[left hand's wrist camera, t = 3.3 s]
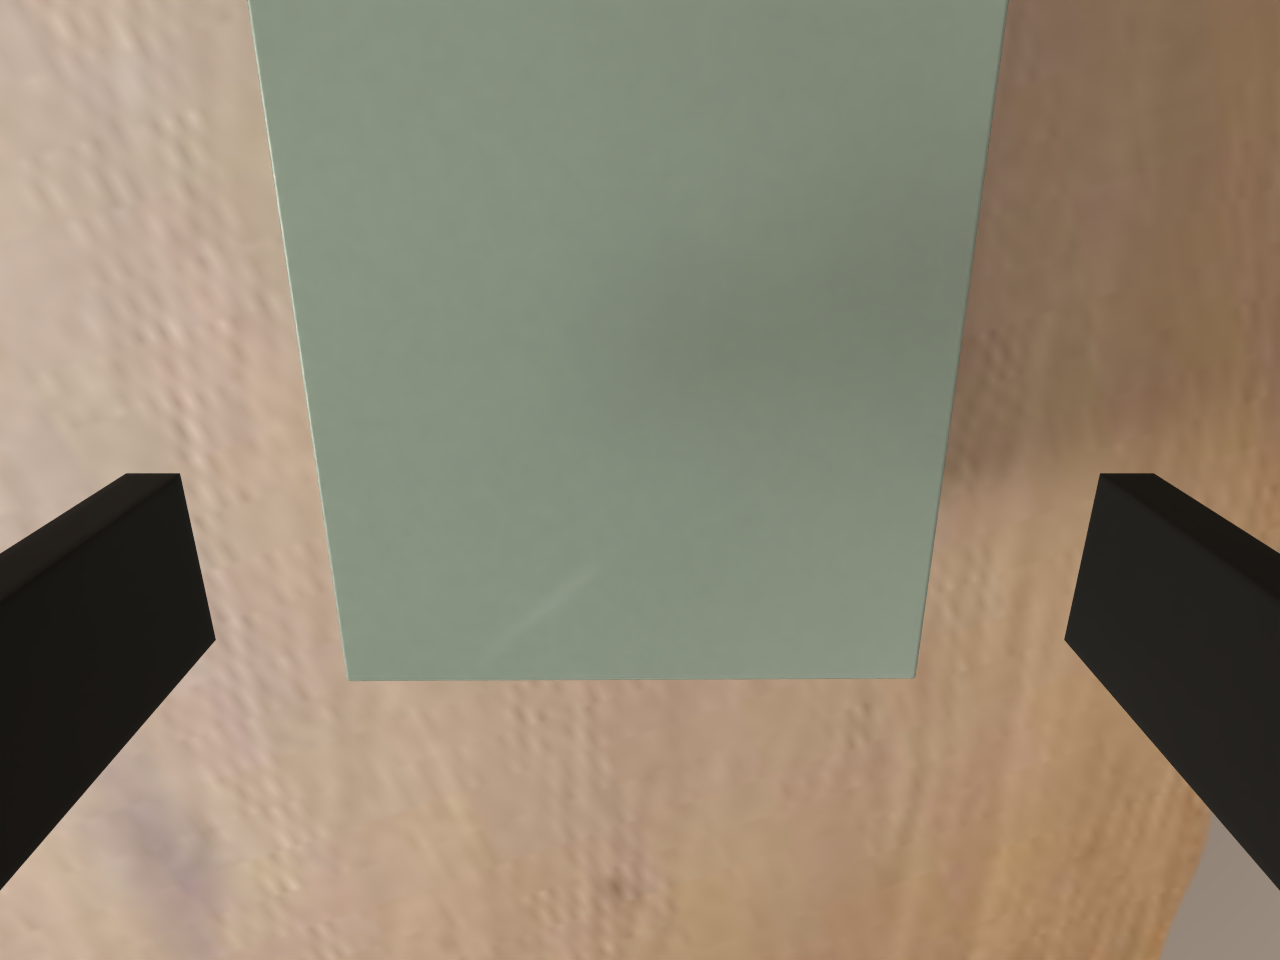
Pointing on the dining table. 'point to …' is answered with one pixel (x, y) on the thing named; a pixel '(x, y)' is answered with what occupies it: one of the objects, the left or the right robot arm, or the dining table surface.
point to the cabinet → (629, 323)
